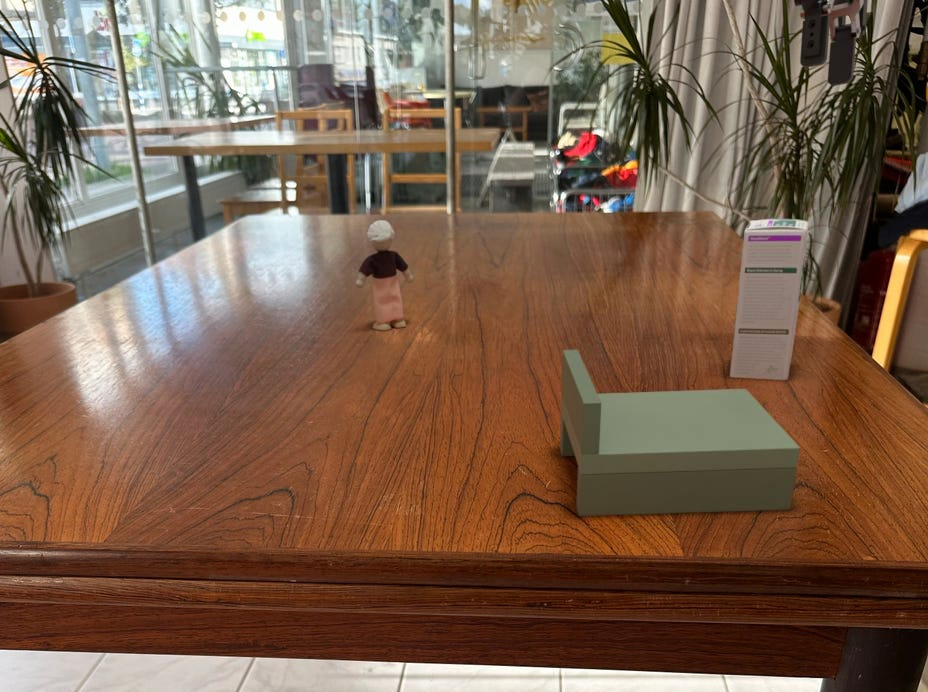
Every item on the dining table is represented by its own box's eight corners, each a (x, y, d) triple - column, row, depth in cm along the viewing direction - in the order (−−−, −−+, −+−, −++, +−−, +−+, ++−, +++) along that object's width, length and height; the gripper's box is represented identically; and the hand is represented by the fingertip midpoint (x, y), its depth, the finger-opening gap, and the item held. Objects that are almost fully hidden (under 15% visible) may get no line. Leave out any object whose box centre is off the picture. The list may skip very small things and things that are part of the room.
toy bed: (738, 447, 79) (751, 343, 75) (789, 514, 67) (809, 395, 63) (559, 453, 79) (562, 349, 75) (578, 521, 67) (583, 403, 63)
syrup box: (787, 384, 94) (811, 226, 86) (726, 381, 95) (744, 226, 88) (789, 369, 98) (812, 218, 91) (731, 366, 100) (748, 217, 92)
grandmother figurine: (401, 320, 124) (395, 215, 118) (419, 324, 121) (413, 217, 115) (353, 330, 120) (344, 222, 113) (371, 335, 117) (362, 225, 111)
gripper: (866, -177, 77) (847, 50, 81) (906, -115, 87) (887, 82, 92) (774, -146, 81) (761, 67, 86) (823, -91, 92) (809, 96, 97)
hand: (827, 75), depth 89 cm, fingers open, 8 cm apart
